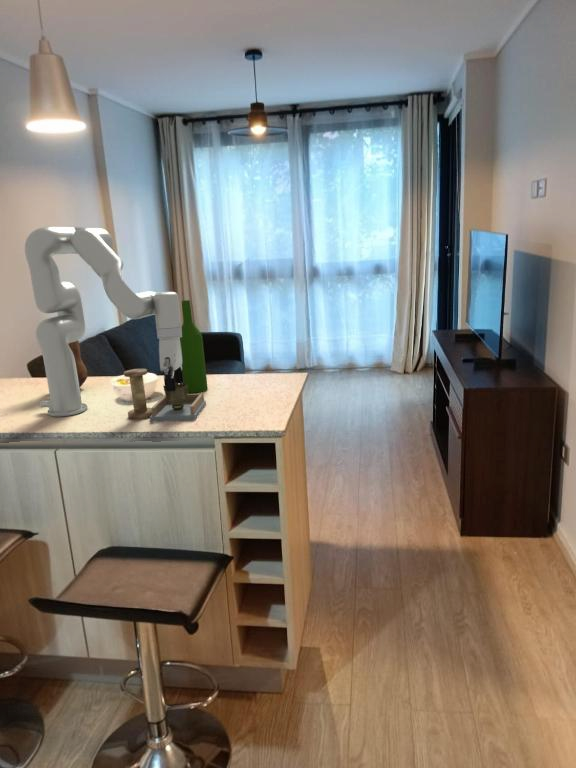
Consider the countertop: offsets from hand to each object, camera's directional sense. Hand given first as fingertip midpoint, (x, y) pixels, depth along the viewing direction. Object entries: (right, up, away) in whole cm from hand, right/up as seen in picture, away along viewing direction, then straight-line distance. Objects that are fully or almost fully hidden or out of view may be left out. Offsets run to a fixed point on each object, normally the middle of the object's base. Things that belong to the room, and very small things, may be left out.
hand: (174, 386), depth 186 cm
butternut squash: (-48, -2, +43) cm, 65 cm away
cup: (+1, -7, +1) cm, 7 cm away
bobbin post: (-11, -9, +2) cm, 14 cm away
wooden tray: (+1, -8, +2) cm, 9 cm away
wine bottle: (+2, -2, +29) cm, 29 cm away
